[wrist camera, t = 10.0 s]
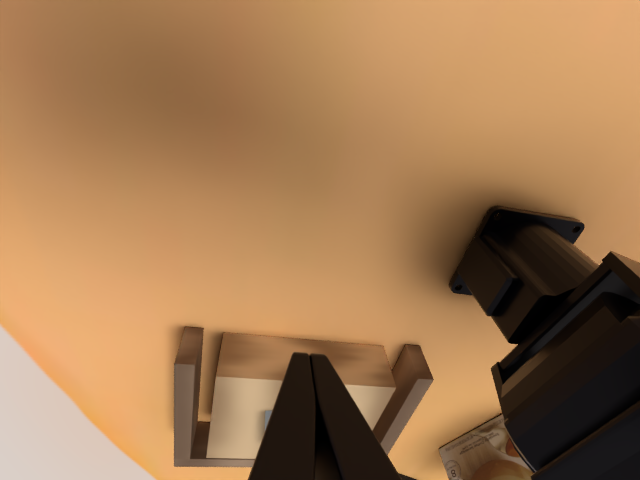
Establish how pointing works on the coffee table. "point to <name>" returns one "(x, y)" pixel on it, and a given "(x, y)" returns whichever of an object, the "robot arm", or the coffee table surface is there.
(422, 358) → the dock bay
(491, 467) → the coffee box
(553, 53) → the coffee table surface
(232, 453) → the beige rectangular block
